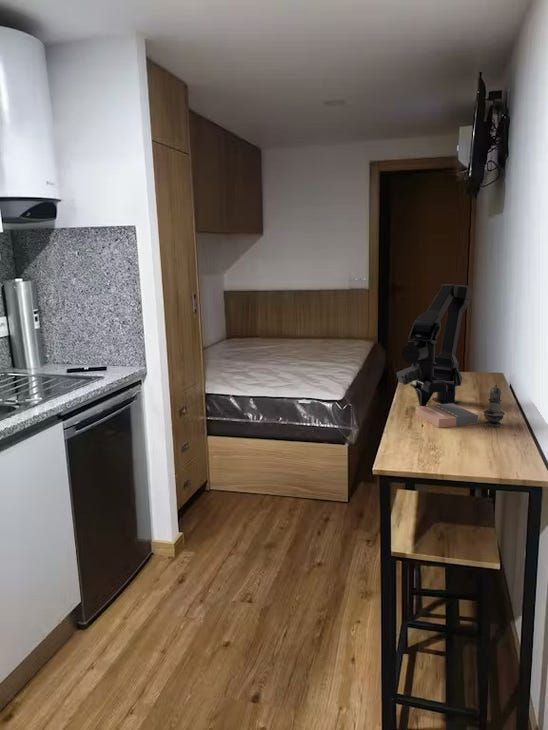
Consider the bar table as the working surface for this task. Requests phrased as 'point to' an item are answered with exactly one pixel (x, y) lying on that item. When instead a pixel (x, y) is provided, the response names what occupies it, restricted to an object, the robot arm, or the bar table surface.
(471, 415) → the grey flat block
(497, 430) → the bar table surface
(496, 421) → the dark grey tiered figure
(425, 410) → the pink block
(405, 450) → the bar table surface
